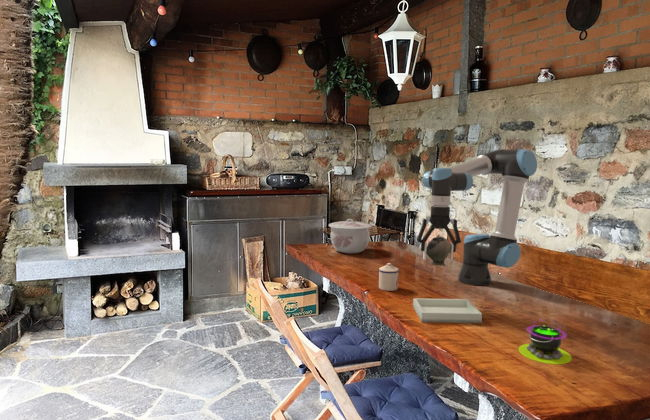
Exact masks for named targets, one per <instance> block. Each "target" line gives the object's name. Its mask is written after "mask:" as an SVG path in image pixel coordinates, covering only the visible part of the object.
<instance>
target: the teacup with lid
mask: <svg viewBox="0 0 650 420" xmlns="http://www.w3.org/2000/svg"><path fill="white" fill-rule="evenodd" d="M378 271H379V272H378V288H379V289H380V290H382V291H386V292H388V291H393V292H394V291H396V290H398V288H399V272H400V270H399V268H398V267H395V266H394V265H393V264H392V263H391V262H388V263H386V265H384V266H381V267H379V269H378Z"/></svg>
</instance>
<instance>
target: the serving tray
mask: <svg viewBox="0 0 650 420" xmlns="http://www.w3.org/2000/svg"><path fill="white" fill-rule="evenodd" d="M412 301H413V302H412V308H413V309H414V311H415V312H416V315H417V317H418V318H419V321H420V322H421V323H448V324H449V323H451V324H452V323H453V324H454V323H458V324H459V323H461V324H464V323H465V324H482V323H483V321H482V319H483V313H482V312H481V310H479V309H478V308H477V307H476V306H475V304H474V303H472V302H471V301H470V299H468V298H467V299H466V298H465V299H464V298H418V297H417V298H413V299H412Z"/></svg>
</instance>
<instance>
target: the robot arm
mask: <svg viewBox="0 0 650 420" xmlns="http://www.w3.org/2000/svg"><path fill="white" fill-rule="evenodd" d="M537 168H538V160H537V156H536V154H535V153H534V152H533V151H532V150H529V149H523V148H519V149H518V148H516V149H513V148H512V149H510V148H509V149H508V148H507V149H504V148H502V149H497V150H496V149H495V150H493V151H490V152H486V153H483V154H480V155H478V156H477V157H476V158H474V159H471V160H468V161H464V162H462V163H458V164H455V165H452V166H450V167H434V168H433V170H431V171H430V170H428V171H426V172H425V173H423V176H422V179H421V180H422V185H423V186H424V187H426V188H428V189H429V188H430V189H431V198H430V199H431V200H430V201H431V203H430V205H431V206H430V215H429V218H424V217H423V218H422V219H421V222H422V223H421V225H420V226H421V227H420V229H419V232H418V234H417V237H416V241H417V242H418V243H420V251H421V252H422V259H423V260H424V261H426V260H427V253H426V250H427V246H428V243H427V241H428V239H429V238H430V236H431V234H432V233H433V232H434V231H435V229H437V230H438V229H441V230H445V232H446V234H447V235H448V237H449V240H450V242H451V243H450V244H451V251H450V252H449V258H448V259H449V261H453V260H454V253H456V251H457V250H456V249H457V244H461V243H462V241H461V236H460V233H459V228H458V220H457V219H456V218H454V219H453V218H450V215H451V213H450V212H451V211H450V209H451V207H450V205H451V196H452V194H451V193H452V192H458V191H459V192H464V191H469V190H470V189H471V188H472V187H473V185H474V179H473V178H474V177H477V176H480V175H483V176H486V175H490V174H493V175H494V174H495V175H496V174H498V175H501V178H502V180H503V186H502V192H501V197H500V202H499V207H498V213H497V217H496V218H497V219H496V222H495V228H494V232H492V233H491V234H489V233H488V234H487V233H475V234H474V233H473V234H472V233H471V234H467V235H465V237H464V238H463V239H464V241H463V251H462V252H463V253H462V254H463V258H462V266H461V268H460V270H459V271H460V272H459V274H458V281H459V282H461V283H463V284H466V285H471V286H472V285H473V286H487V285H490V284H491V283H492V277H491V272H490V270H489V269H490V268H489V264H490V265H494V266H497V267H501V268H505V269H506V268H512V267H513V266H515V265H516V264H517V263H518V261H519V260H520V257H521V254H522V253H521V252H522V251H521V246H520V245H519V244H518V239H517V237H516V236H515V233H516V228H517V223H518V217H519V213H520V208H521V202H522V197H523V193H524V187H525V184H526V183H527V182H529V180H530V177H531V176H534V174H535V173H536V172H537V170H538V169H537ZM429 223H430V226H429V228H428V229H427V232H426V233H425V231H426V228H427V224H429ZM449 223H451V225H452V229H453V232H454V235H455V238H454V235H453V234H452V232H451V231H450V228H449V226H448V225H449ZM424 233H425V234H424ZM423 235H424V236H423Z"/></svg>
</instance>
